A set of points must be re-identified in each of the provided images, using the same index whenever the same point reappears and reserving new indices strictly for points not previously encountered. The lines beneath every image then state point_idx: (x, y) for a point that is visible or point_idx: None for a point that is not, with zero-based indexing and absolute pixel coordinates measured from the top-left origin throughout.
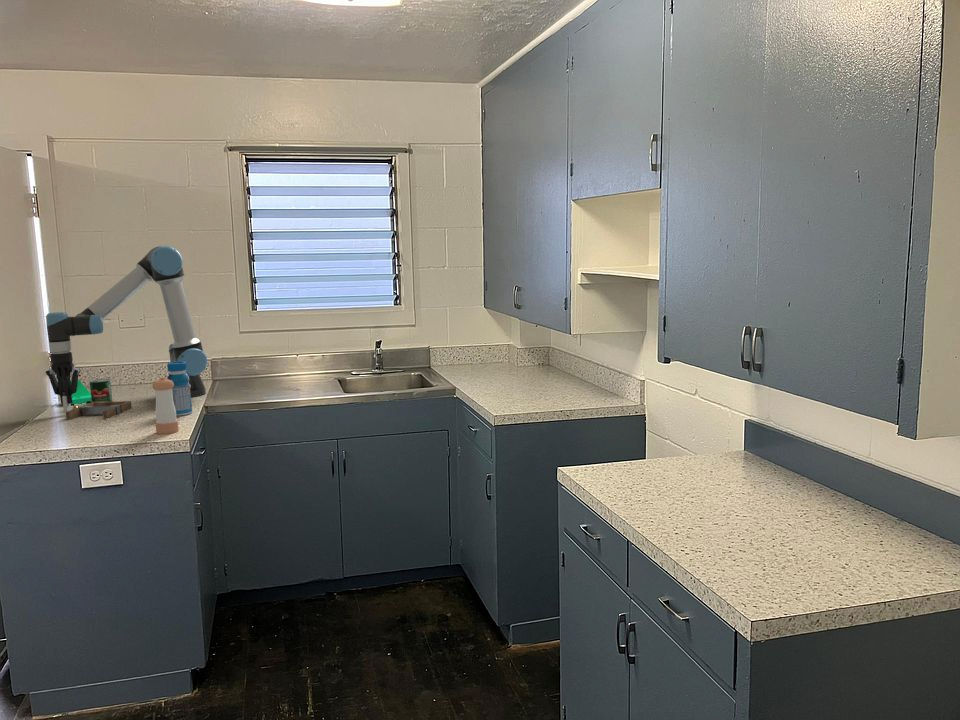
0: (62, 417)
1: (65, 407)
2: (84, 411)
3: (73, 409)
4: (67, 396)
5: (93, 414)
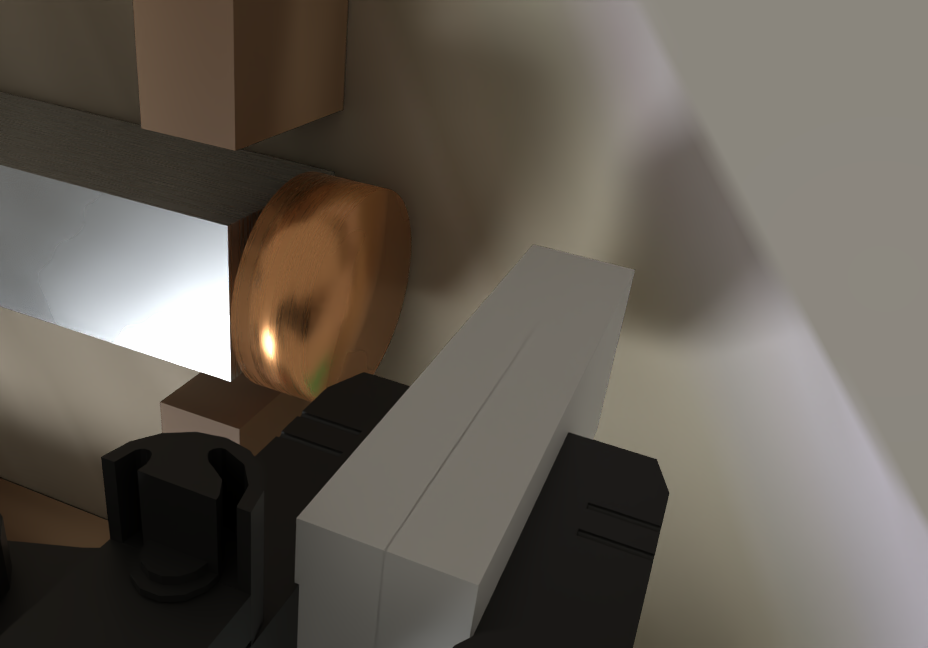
0: (636, 44)
1: (537, 311)
2: (136, 156)
3: (214, 3)
4: (284, 552)
5: (29, 100)
